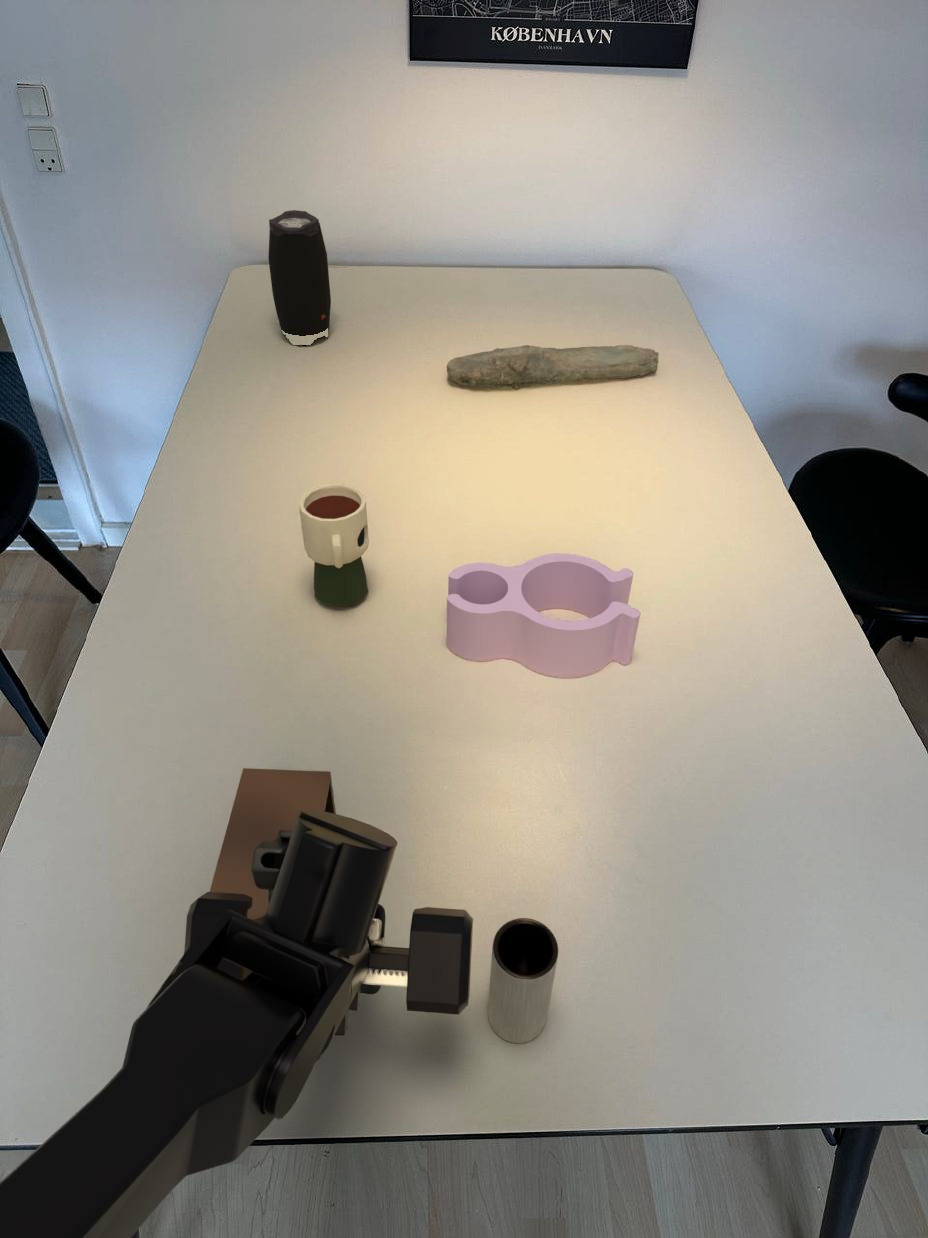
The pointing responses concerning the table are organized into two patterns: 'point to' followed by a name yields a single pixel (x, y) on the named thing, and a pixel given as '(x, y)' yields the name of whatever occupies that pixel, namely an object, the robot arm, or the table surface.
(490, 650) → the clip
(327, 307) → the portable speaker
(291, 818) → the cupboard
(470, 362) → the elongated rock
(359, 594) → the character mug
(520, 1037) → the grey hollow tube
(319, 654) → the table surface
